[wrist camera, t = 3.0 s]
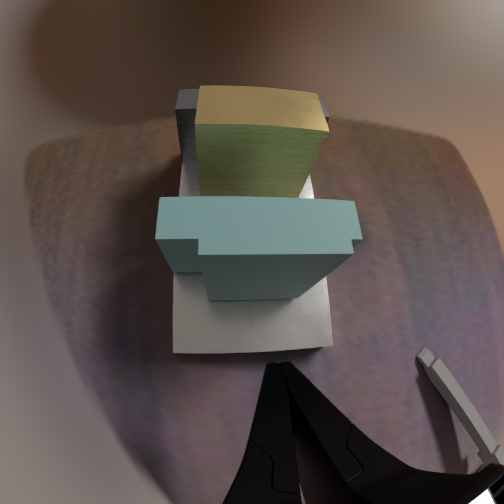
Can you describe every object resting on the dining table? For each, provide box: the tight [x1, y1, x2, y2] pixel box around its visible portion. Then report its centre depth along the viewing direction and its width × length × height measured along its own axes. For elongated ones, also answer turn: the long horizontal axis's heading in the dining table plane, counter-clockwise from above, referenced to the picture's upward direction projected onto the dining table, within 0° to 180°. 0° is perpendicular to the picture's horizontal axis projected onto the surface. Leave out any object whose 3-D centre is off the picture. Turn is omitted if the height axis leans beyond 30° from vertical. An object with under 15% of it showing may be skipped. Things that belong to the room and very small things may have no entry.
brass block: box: [195, 86, 329, 198], centre depth 15 cm, size 3×6×7 cm, turn 93°
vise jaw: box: [155, 196, 362, 300], centre depth 12 cm, size 4×9×7 cm, turn 93°
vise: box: [173, 89, 333, 353], centre depth 15 cm, size 15×9×6 cm, turn 3°
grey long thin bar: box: [417, 347, 504, 472], centre depth 12 cm, size 20×1×6 cm, turn 35°
